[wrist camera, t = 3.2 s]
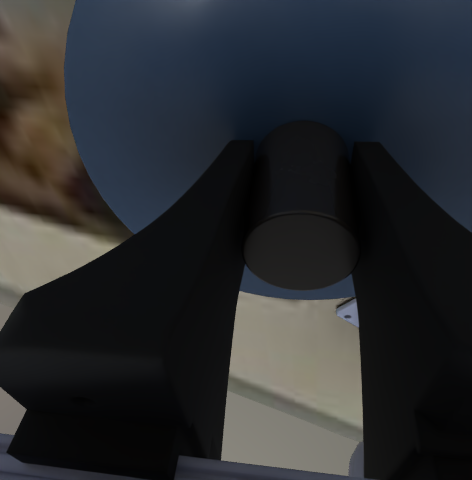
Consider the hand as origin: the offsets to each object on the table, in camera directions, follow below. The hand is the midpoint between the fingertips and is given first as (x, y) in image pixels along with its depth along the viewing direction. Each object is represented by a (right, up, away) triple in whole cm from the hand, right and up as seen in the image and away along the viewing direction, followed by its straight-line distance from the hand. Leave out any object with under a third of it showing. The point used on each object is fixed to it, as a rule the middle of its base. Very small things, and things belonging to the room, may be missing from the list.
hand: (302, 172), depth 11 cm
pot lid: (0, +1, +1) cm, 1 cm away
